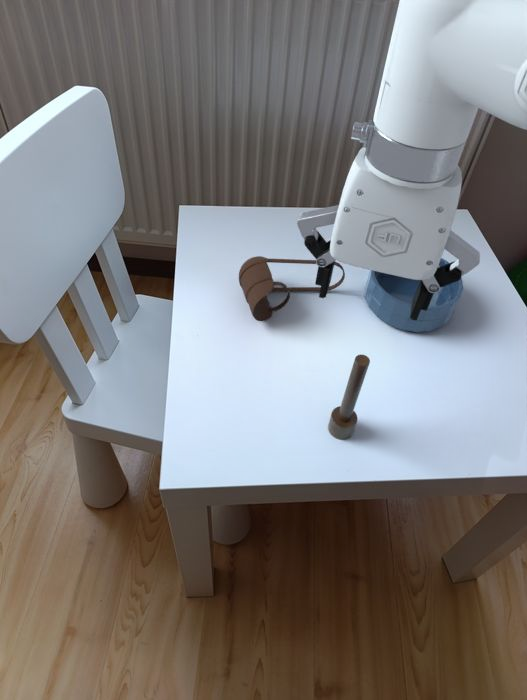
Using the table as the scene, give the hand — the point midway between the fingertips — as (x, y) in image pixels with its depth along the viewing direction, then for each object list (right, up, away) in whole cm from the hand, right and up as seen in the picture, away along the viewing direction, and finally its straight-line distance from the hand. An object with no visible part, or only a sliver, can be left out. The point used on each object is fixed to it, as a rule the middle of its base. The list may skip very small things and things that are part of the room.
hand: (368, 300), depth 57 cm
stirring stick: (0, -16, +18) cm, 25 cm away
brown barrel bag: (-6, +4, +36) cm, 36 cm away
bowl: (+14, +3, +37) cm, 39 cm away
